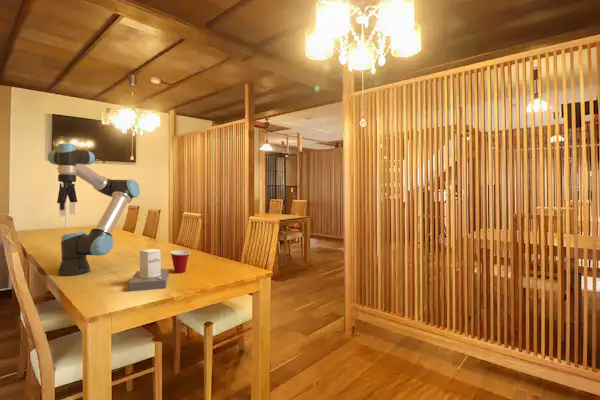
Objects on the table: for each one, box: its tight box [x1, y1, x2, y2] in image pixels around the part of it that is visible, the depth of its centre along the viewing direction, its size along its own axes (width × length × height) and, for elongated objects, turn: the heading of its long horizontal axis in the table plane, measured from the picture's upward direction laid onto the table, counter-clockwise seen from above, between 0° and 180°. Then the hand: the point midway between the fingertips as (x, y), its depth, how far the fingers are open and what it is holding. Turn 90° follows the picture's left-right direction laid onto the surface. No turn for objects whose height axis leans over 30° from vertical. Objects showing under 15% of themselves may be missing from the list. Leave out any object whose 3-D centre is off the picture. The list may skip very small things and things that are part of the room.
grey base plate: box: [128, 268, 170, 292], centre depth 166 cm, size 24×16×5 cm, turn 19°
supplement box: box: [139, 248, 162, 277], centre depth 165 cm, size 7×7×13 cm
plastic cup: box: [169, 250, 191, 274], centre depth 188 cm, size 11×11×12 cm
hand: (68, 215), depth 166 cm, fingers open, 13 cm apart
